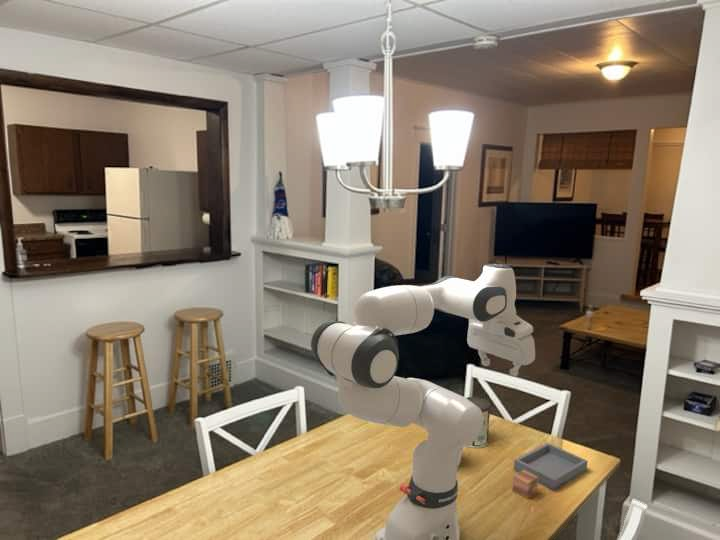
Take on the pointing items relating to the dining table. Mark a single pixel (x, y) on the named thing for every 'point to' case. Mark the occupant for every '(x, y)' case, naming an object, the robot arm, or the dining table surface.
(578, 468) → the tray
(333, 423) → the dining table surface
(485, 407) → the coffee can
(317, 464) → the dining table surface
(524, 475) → the block
